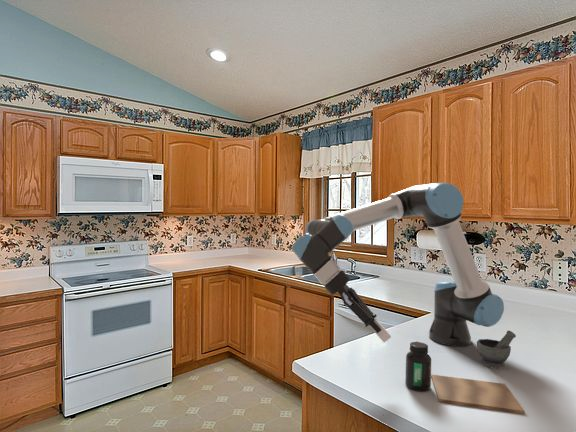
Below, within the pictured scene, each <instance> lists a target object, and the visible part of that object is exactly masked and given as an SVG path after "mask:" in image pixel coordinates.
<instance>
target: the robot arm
mask: <svg viewBox="0 0 576 432" xmlns="http://www.w3.org/2000/svg"><path fill="white" fill-rule="evenodd" d="M464 203H465V202H464V197H463V193H462V192H461V191H460V189H459V188H458V187H457V186H456V185H454V184H451V183H449V182H434V183H427V184H425V183H424V184H417V185H413V186H410V187H407V188H406V189H402V190H400V191H397V192H395V193H394V192H393V193H391V194H389V195H388V196H387V198H384V199H382V200H377V201H374V202H372V203H368V204H364V205H361V206H358V207H356V208H351V209H349V210H345V211H343V212H340V213H336V214H333V215H330V216H326V217H323V218H320V219H317V218H316V219H312V220H310V221H308V222H307V223H306V225H305V229H304V231H305V233H304V234H303V235H301V236H300V237H299V238H297V240H296V241H294V243H293V244H292V246H291V248H292V249H291V250H292V252H294V254H295V255H296V256H297V258H298V259H299V260H300V262H302V264H303V265H304V267H306V268H307V269H308V270H309V271H310V273H312V275H313V276H314V277H315V278H316V279H317V281H318V282H319V283H320V284H321V285H324V288H325V290H326V291H327V292H328V293H329V294H330V295H331V296H334V295H336V293H338V294H339V296H340V299H341V301H342V302H343V305H345V306H346V307H347V308H349V310H351V312H353V313H354V314H355V316H357V317H358V319H360V321H362V323H363V324H364V326H365V328H368V326H369V328H370V329H371V330H372V331H373V332H374V333H375V335H377V337H378V338H379V339H380V340H381V341H382V342H383V343H384V344H385V343H386V342H387V341H388V340H389V339H391V338H392V335H391V334H390V333H389V332H388V330H387V328H385V327H384V326H383V325H382V324H381V322H380V321H379V320H378V319H377V315H378V314H374V312H373V311H372V310H371V309H370V308H369V306H368V305H366V303H365V302H364V300H363V299H362V298H361V297H360V296H359V295H358V293H357V292H356V290H355V289H354V288H353V287H350V286H349V285H347V284H348V283H349V282H350V279H351V278H350V277H349V276H348V274H347V273H345V271H344V270H341V267H340V266H339V265H338V264H337V263H338V260H333V259H332V257H331V256H330V253H332V252H333V251H334V250H336V249H337V247H339V246H340V245H341V244H342V243H344V241H346V240H347V239H348V238H349V237H350V236H351V235H352V233H353V232H355V231H357V230H361V229H363V228H366V227H369V226H372V225H373V226H374V225H376V224H379V223H382V222H385V221H388V220H391V219H395V220H400V219H403V218H411V217H412V218H413V217H417V218H420V217H421V218H423V219H424V221H425V224H426V226H427V227H428V228H429V229H432V230H433V231H434V233H435V236H436V238H437V241H438V244H439V246H440V249H441V252H442V254H443V256H444V259H445V262H446V265H447V266H448V269H449V272H450V273H451V274H450V275H451V277H452V278H453V280H450V281H449V280H447V281H446V280H445V281H443V280H442V281H437V282H436V283H435V286H434V305H433V306H434V310H433V311H434V313H433V314H434V315H433V317H434V318H433V320H432V323H431V325H430V327H429V330H428V332H429V333H428V338H429V339H430V340H431V341H433V342H436V343H438V344H442V345H445V346H451V347H452V346H454V347H465V346H466V347H467V346H470V345H471V343H472V337H471V336H472V335H471V333H470V332H471V331H470V329H469V327H468V323H467V322H470V323H473V324H475V325H477V326H482V327H487V328H490V327H493V326H495V325H496V324H498V323H499V322H500V320H501V319H502V317H503V314H504V311H505V304H504V301H503V299H502V297H501V296H499V295H498V294H493V293H492V290H491V287H490V285H489V283H488V282H487V281H485V280H482V277H481V275H480V272H479V270H478V266H477V264H476V261H475V260H474V256H473V254H472V251H471V249H470V246H469V243H468V241H467V239H466V236H465V234H464V230H463V228H462V225H461V223H460V220H461V218H462V211H463V209H464V206H463V205H464Z"/></svg>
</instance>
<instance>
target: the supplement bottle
mask: <svg viewBox="0 0 576 432" xmlns="http://www.w3.org/2000/svg"><path fill="white" fill-rule="evenodd" d="M428 353H429V347H428V344H427V343H425V342H420V341H412V342H411V341H410V344H409V351H408V352H407V353H406V354H405V355H406V356H405V383H404V384H405V385H406V387H407V388H408V389H410V390H412V391H415V392H427V391H430V389H431V387H432V386H431V385H432V378H431V375H432V357H431V355H430V354H428Z"/></svg>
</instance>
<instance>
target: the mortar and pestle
mask: <svg viewBox="0 0 576 432" xmlns="http://www.w3.org/2000/svg"><path fill="white" fill-rule="evenodd" d="M516 337H517V335H516V334H515V333H514V332H513V331H511V330H507V331H506V333H505V335H504V336H502V338H501V339H500V340H496V339H491V338H490V339H488V338H481V339H478V340H476V350H477V352H478V354H479V356H480V357H481V358H482V360H481V364H483V366H486V367H488V368H490V369H491V368H492V369H497V370H498V369H501V370H502V369H503V368H504V367H505V366H504V365H505V364H504V363H505V362H507V360H508V359H509V357H510V356H511V348H512V347H511V343H512V342H513V340H514V339H515V338H516Z"/></svg>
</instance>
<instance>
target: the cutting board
mask: <svg viewBox="0 0 576 432" xmlns="http://www.w3.org/2000/svg"><path fill="white" fill-rule="evenodd" d="M431 383H432V384H433V388H434V391H435V395H436V397H437V398H436V399H437V402H439V403H445V404H452V405H459V406H465V407H466V406H467V407H472V408H477V409H478V408H479V409H487V410H494V411H500V412H506V411H507V413H512V414H513V413H514V414H519V415H520V414H522V415H525V413H526V412H525V409H524V407H522V405H521V404H520V403H519V401H518V400H517V398H516V397H515V395H514V394H513V392H511V389H509V387H508V386H507V384H506V383H501V382H494V381H485V380H479V379H478V380H477V379H469V378H461V377H453V376H448V375H447V376H446V375H438V374H431Z"/></svg>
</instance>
